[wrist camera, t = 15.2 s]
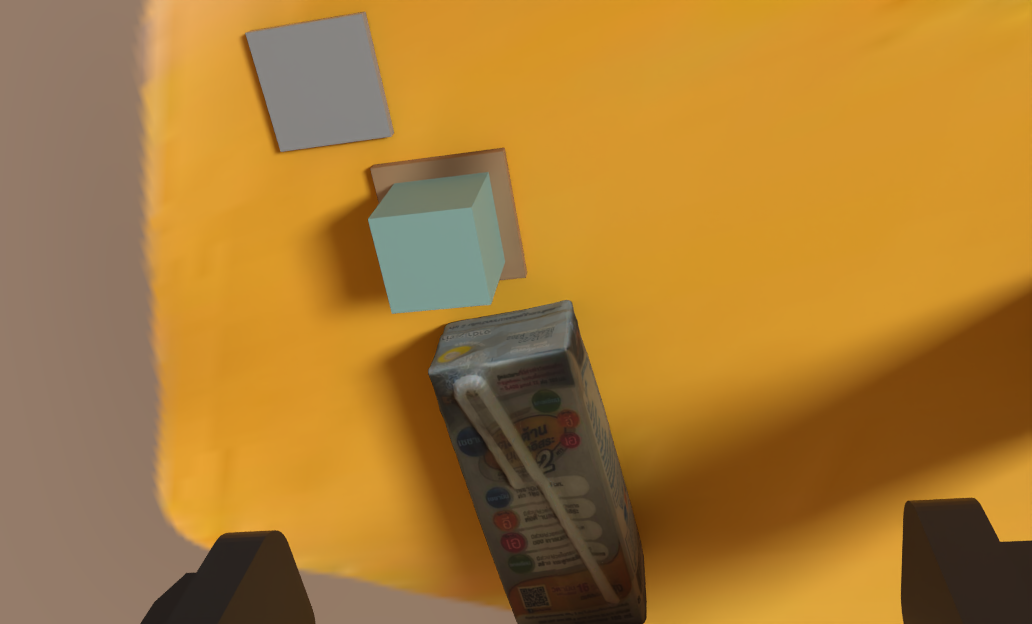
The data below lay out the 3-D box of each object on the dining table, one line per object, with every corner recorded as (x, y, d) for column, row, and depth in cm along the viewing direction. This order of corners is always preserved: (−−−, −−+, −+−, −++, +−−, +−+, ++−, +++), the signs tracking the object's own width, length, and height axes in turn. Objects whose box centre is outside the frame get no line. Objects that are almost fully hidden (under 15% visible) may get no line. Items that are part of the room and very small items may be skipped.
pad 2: (504, 147, 44) (502, 151, 44) (527, 272, 47) (525, 277, 47) (373, 164, 46) (370, 168, 45) (403, 285, 49) (400, 290, 48)
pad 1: (365, 11, 42) (361, 13, 42) (394, 133, 45) (391, 136, 44) (250, 30, 43) (245, 33, 43) (284, 148, 46) (280, 151, 45)
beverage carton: (580, 291, 48) (571, 352, 42) (650, 555, 56) (652, 637, 50) (443, 317, 50) (417, 379, 44) (530, 569, 58) (518, 650, 52)
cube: (488, 172, 44) (471, 207, 40) (505, 261, 47) (491, 304, 42) (394, 183, 45) (367, 219, 41) (415, 270, 48) (391, 313, 43)
